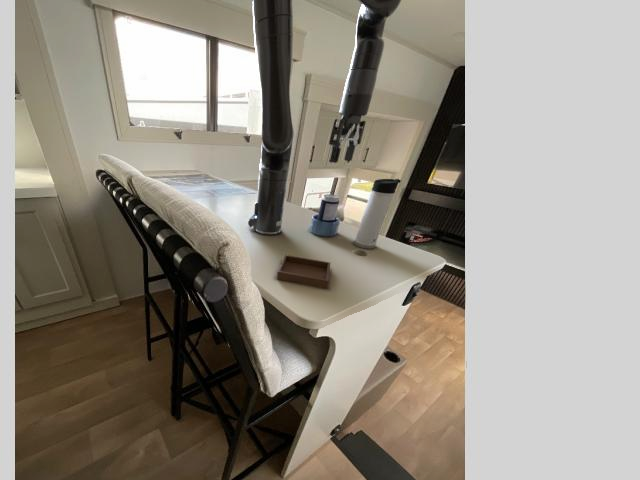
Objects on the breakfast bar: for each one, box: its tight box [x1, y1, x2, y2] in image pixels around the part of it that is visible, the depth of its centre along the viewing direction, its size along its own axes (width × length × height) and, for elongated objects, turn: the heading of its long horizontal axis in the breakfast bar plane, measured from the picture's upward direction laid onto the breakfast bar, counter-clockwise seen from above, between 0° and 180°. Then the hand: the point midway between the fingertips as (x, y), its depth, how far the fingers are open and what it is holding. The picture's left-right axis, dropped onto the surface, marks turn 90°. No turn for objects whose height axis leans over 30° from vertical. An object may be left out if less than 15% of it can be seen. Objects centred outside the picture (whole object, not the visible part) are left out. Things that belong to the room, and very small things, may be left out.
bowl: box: [309, 214, 341, 237], centre depth 89 cm, size 9×9×5 cm
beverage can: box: [317, 193, 340, 223], centre depth 87 cm, size 6×6×12 cm
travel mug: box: [353, 178, 402, 250], centre depth 76 cm, size 6×7×20 cm
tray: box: [276, 254, 331, 289], centre depth 65 cm, size 12×10×2 cm
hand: (340, 161), depth 77 cm, fingers open, 8 cm apart
